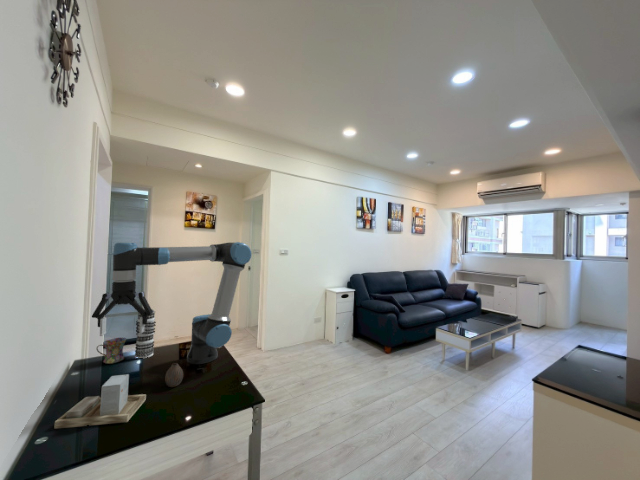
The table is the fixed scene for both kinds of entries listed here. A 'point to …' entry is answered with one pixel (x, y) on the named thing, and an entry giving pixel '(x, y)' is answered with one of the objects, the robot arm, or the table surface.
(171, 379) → the vase
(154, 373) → the table surface
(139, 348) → the decorative candle
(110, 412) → the small box
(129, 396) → the organizer
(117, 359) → the mug
